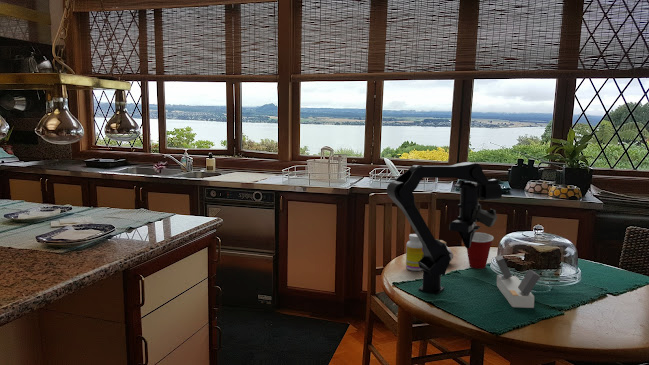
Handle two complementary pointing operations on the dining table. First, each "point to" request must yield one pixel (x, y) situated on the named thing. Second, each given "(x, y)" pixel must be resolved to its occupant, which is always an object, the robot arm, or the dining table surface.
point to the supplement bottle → (414, 253)
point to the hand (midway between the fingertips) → (467, 248)
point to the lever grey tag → (503, 266)
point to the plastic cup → (479, 250)
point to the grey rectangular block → (528, 282)
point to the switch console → (514, 292)
